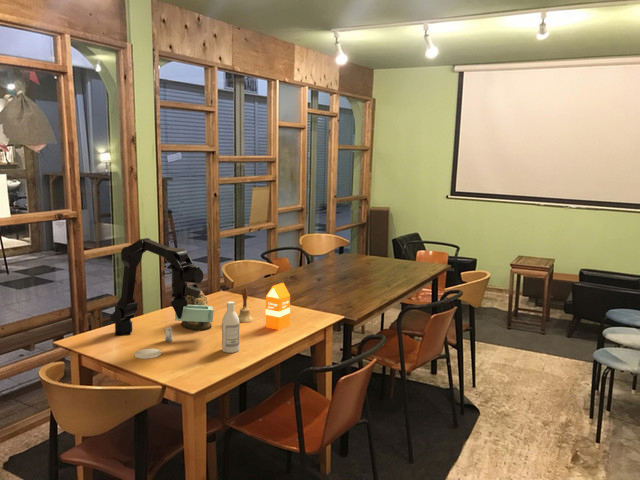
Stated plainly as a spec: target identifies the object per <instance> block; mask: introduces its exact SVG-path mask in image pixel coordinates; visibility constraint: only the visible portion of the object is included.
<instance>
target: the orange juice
mask: <svg viewBox="0 0 640 480" xmlns="http://www.w3.org/2000/svg"><path fill="white" fill-rule="evenodd" d="M290 321H291V294H290V293H289V291H288V288H287V287H286V285H285V283H284V282H281V283H277V284H274V285H272V286H271V288H270V290H269V291H268V293H267V294H266V296H265V328H267V329H269V328H270V329H273V330H277V331H280V330H282V329H284V328H287V327H289V326H290V324H291V322H290Z"/></svg>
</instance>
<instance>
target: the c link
mask: <svg viewBox="0 0 640 480" xmlns="http://www.w3.org/2000/svg"><path fill="white" fill-rule="evenodd" d="M214 311H215V310H214V308H213V306H212V305H208V306H202V305H188V306H184V307H183V312H182V317H181V319H178V317H177V315H176V312H175V311H174V312H175V314H174V315H175V316H174V317H175V319H174V320H175V321H176V322H178V321H179V322H182V321H195V322H210V323H213V322H214Z"/></svg>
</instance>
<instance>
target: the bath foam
mask: <svg viewBox="0 0 640 480" xmlns="http://www.w3.org/2000/svg"><path fill="white" fill-rule="evenodd" d="M238 316H239V315H238V314H237V312H236V311H235V302H234V301H229V300H228V301H227V302H226V312H225V314H224V315H223V317H222V318H221V350H222V352H223V353H227V354H230V353H231V354H232V353H237V352H238V351H240V322H239V318H238Z"/></svg>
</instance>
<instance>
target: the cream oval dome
mask: <svg viewBox="0 0 640 480" xmlns="http://www.w3.org/2000/svg"><path fill="white" fill-rule="evenodd" d="M161 355H162V351H161V349H158V348H145V349H140V350H138V351H136V352H134V357H135V358H137V359H140V360H147V359H155V358H158V357H159V356H161Z"/></svg>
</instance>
